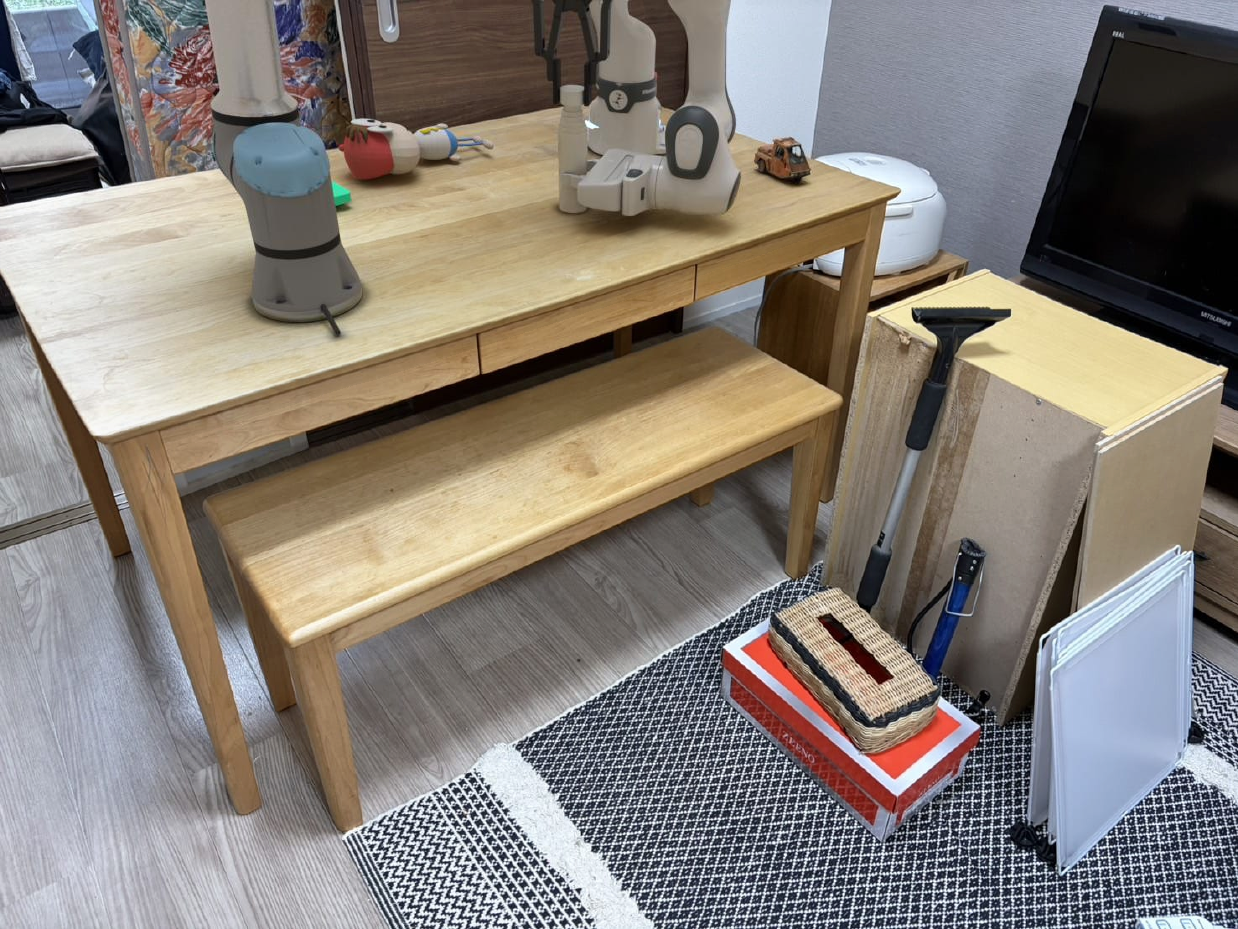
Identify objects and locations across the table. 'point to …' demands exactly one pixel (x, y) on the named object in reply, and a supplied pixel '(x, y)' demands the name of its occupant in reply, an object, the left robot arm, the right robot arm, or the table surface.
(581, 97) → the cap
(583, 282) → the table surface
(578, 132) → the bottle
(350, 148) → the toy
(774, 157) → the toy car
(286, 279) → the left robot arm
